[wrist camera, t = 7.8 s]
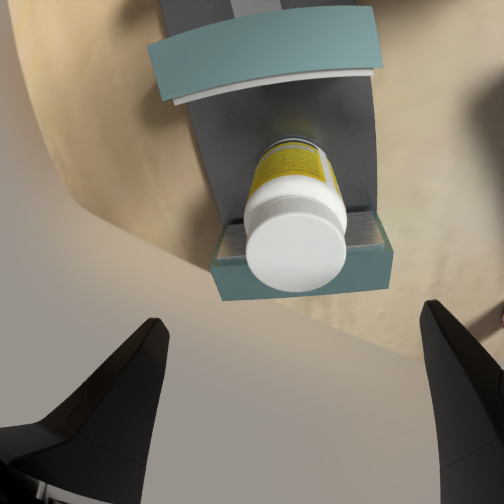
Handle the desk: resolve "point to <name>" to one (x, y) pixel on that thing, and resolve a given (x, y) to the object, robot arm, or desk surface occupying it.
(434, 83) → the desk surface
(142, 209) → the desk surface
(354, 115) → the vise
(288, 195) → the supplement bottle
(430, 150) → the desk surface
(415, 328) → the desk surface
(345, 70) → the vise jaw
